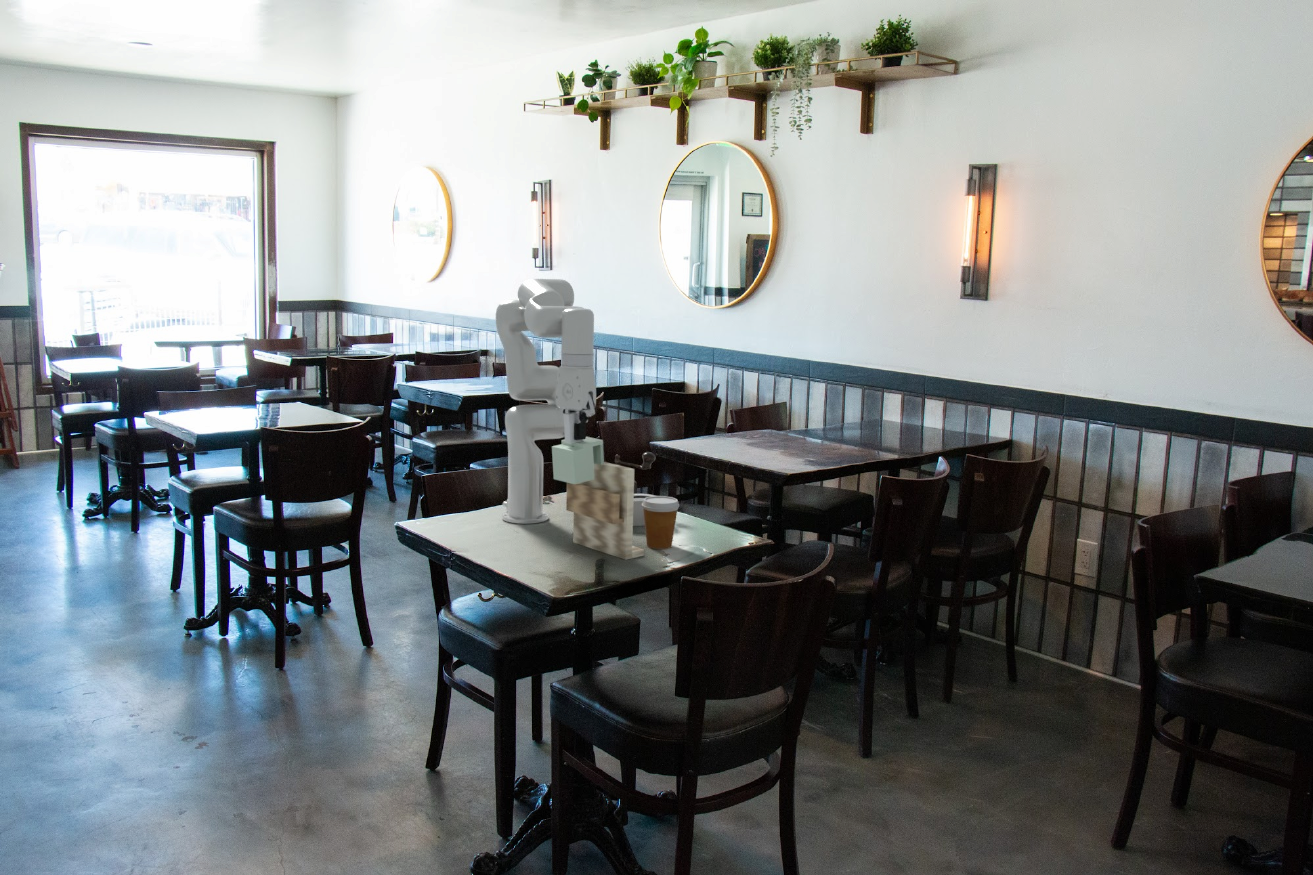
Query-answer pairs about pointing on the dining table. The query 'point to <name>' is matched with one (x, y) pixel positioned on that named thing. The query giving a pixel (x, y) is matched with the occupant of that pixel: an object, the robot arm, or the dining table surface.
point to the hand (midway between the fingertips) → (576, 438)
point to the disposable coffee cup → (660, 520)
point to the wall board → (605, 511)
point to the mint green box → (576, 455)
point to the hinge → (639, 509)
